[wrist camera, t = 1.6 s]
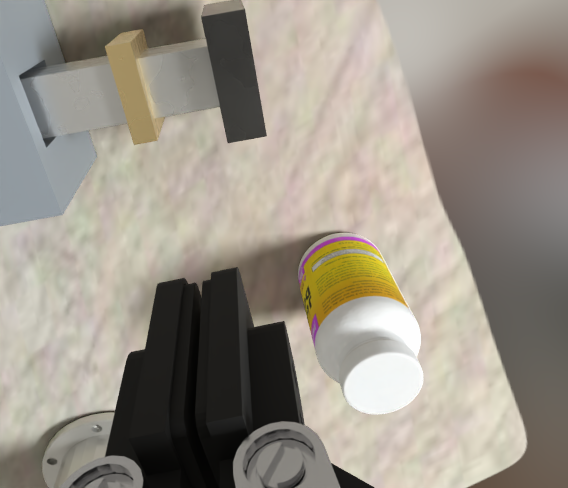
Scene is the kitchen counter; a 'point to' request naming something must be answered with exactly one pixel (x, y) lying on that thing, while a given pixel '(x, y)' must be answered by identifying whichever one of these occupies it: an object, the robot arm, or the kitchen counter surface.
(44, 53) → the housing
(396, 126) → the kitchen counter surface
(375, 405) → the supplement bottle
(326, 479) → the robot arm
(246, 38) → the shaft
